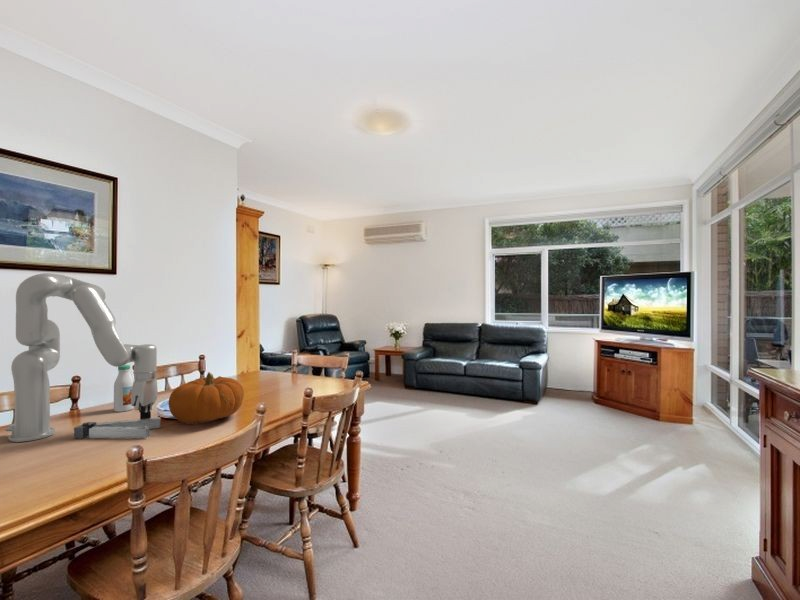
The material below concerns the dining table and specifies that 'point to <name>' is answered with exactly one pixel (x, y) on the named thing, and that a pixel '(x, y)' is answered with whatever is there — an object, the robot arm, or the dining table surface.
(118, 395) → the milk bottle
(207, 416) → the pumpkin
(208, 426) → the dining table surface
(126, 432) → the arm
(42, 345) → the robot arm
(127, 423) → the tongs free arm
